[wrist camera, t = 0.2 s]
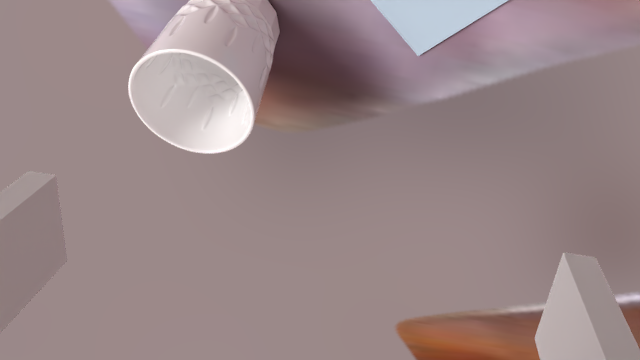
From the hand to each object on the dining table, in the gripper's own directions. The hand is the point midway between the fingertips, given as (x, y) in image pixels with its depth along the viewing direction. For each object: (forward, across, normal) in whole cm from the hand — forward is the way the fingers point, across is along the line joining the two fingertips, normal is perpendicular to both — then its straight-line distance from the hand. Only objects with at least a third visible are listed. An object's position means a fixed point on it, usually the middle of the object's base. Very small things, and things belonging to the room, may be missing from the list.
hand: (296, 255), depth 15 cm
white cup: (+30, -10, -1) cm, 31 cm away
